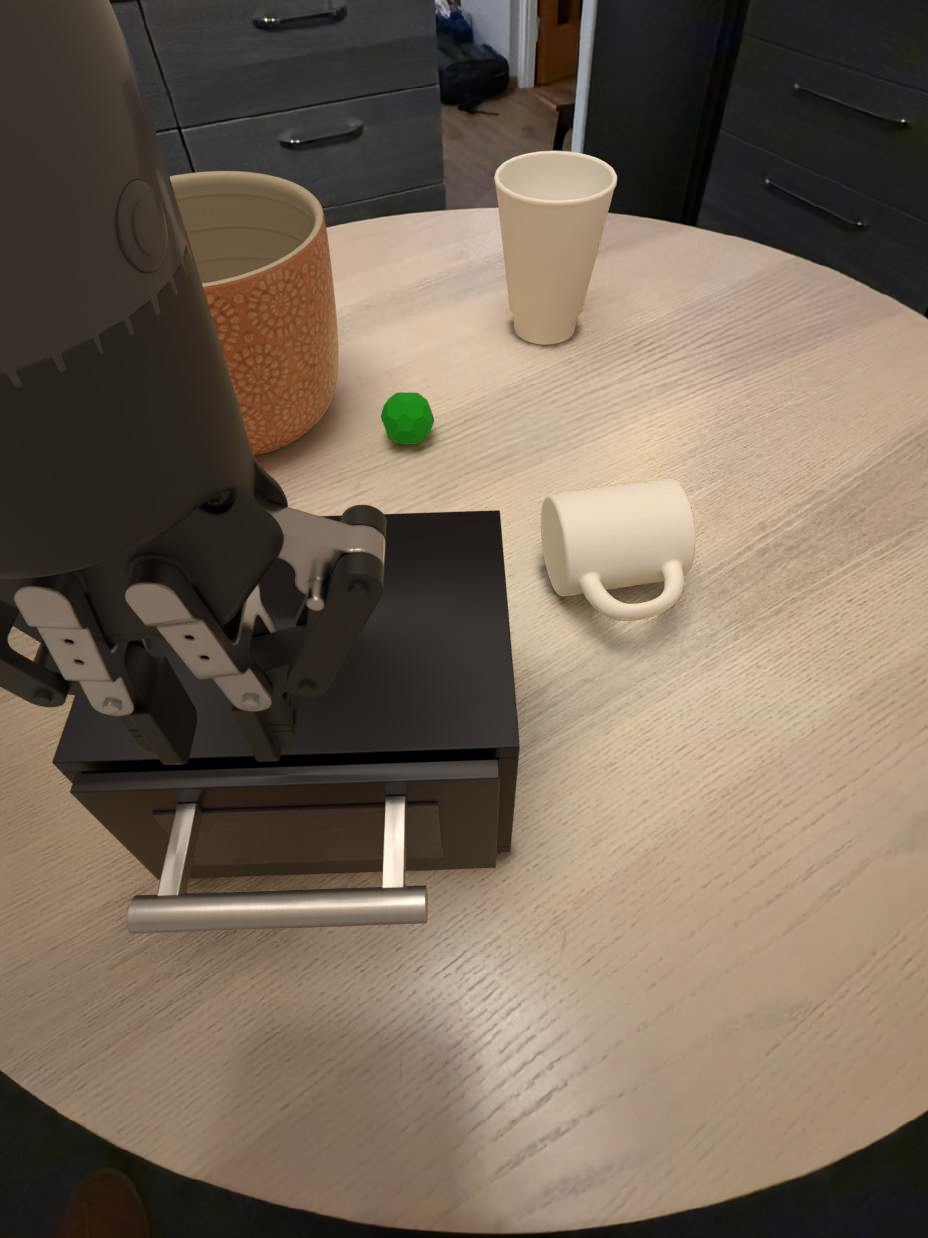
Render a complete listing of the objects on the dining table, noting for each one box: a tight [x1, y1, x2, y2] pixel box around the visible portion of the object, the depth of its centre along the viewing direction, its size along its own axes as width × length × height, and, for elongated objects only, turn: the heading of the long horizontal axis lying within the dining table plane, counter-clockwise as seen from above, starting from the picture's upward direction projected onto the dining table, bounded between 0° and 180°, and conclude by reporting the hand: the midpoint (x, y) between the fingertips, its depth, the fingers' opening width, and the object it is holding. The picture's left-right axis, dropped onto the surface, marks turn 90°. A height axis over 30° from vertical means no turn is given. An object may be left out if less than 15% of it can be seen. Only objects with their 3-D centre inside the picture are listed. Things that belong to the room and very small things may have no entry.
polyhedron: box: [380, 391, 435, 445], centre depth 71 cm, size 5×5×5 cm
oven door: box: [69, 759, 500, 935], centre depth 38 cm, size 20×7×12 cm, turn 92°
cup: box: [493, 150, 618, 345], centre depth 78 cm, size 12×12×16 cm
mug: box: [540, 477, 697, 622], centre depth 57 cm, size 12×10×8 cm
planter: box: [169, 170, 339, 457], centre depth 68 cm, size 21×21×19 cm
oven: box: [51, 509, 521, 855], centre depth 46 cm, size 22×16×15 cm
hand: (227, 738), depth 26 cm, fingers closed
